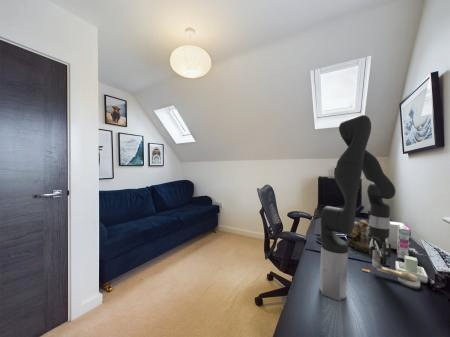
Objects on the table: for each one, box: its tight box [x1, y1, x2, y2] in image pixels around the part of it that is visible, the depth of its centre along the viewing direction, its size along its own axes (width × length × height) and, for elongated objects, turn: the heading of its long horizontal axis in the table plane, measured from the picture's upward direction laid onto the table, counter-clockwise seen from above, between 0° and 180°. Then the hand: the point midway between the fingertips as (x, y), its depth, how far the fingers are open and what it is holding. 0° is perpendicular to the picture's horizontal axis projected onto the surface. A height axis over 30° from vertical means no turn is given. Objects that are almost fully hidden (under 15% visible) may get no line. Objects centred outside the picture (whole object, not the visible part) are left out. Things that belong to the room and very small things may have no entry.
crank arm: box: [371, 250, 417, 281], centre depth 88 cm, size 15×5×8 cm, turn 53°
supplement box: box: [386, 220, 406, 250], centre depth 125 cm, size 9×9×15 cm
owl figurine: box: [346, 219, 377, 253], centre depth 121 cm, size 18×12×17 cm, turn 34°
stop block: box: [403, 255, 419, 273], centre depth 92 cm, size 4×4×7 cm
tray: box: [394, 260, 429, 284], centre depth 92 cm, size 10×10×3 cm
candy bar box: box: [396, 224, 412, 261], centre depth 112 cm, size 11×5×16 cm, turn 141°
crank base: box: [361, 268, 422, 289], centre depth 89 cm, size 20×7×2 cm, turn 53°
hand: (377, 260), depth 92 cm, fingers open, 8 cm apart
